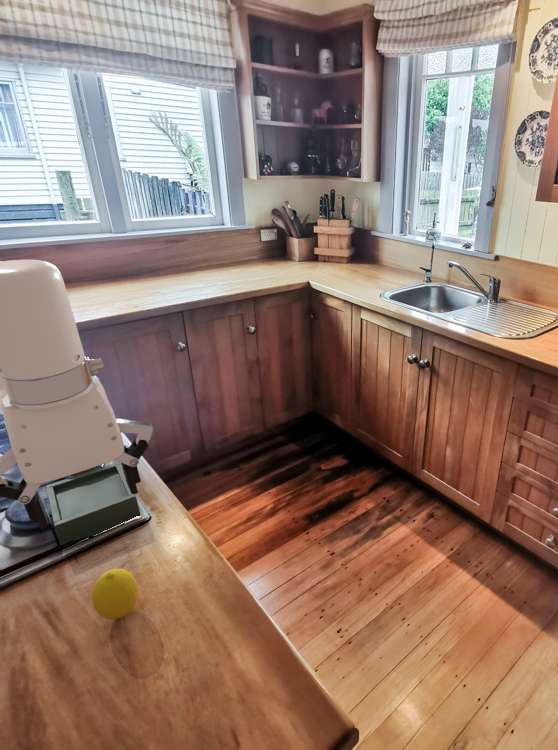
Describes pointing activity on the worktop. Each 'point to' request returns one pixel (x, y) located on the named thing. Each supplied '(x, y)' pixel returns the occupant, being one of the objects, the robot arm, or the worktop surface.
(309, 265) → the worktop surface
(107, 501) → the grey green square tray
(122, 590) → the lemon
